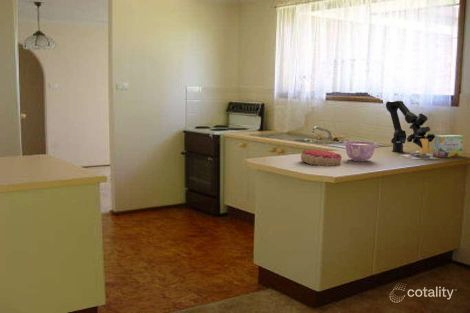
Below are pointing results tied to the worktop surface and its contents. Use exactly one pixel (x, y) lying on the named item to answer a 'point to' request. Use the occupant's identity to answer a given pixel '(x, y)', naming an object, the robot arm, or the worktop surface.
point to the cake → (320, 157)
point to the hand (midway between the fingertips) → (425, 147)
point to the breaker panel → (419, 156)
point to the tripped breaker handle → (424, 146)
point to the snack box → (447, 145)
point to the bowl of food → (360, 150)
